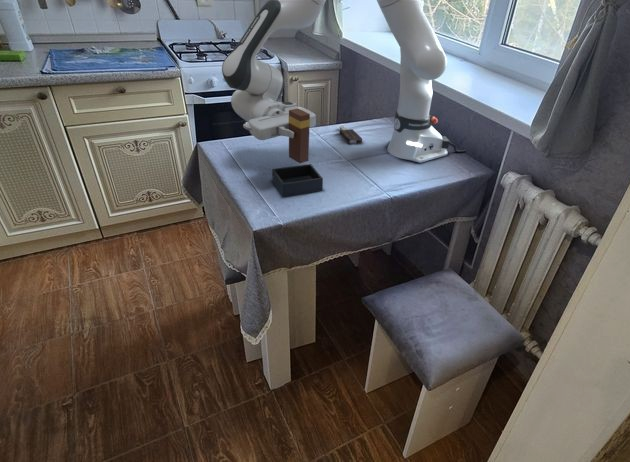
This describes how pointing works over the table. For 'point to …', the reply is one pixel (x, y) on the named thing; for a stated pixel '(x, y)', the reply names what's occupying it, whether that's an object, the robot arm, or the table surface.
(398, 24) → the robot arm
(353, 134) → the ice cream bar
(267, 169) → the table surface
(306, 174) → the tray
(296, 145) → the chocolate box
